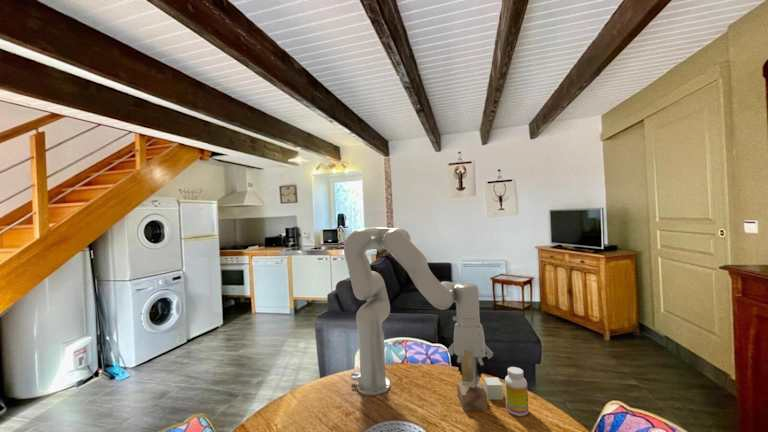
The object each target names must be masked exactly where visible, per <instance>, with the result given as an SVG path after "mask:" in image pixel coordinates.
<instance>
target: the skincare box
mask: <svg viewBox="0 0 768 432" xmlns="http://www.w3.org/2000/svg"><path fill="white" fill-rule="evenodd" d="M478 362H479V360H478V358H476V357H474V352H473V350H464V356H461V368H462V375H461V382H462V384H463V385H466V386H469V387H473V388H475V387H476V385H477V384H478V382H480V380H481V377H479V370H478Z"/></svg>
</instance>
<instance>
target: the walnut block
mask: <svg viewBox="0 0 768 432" xmlns="http://www.w3.org/2000/svg"><path fill="white" fill-rule="evenodd" d="M456 384H457V385H456V386H457V389H456V390H457V397H458V400H459V403H460V406H461V408H462V411H465V410H466V411H467V410H468V411H469V410H470V411H472V410H488V409H489V408H488V407H489V406H488V398H487V394H486V392H485V390H484V385H482V383H481V381H479V382H478V384H477V385H476V387H475V388H473V387H469V386H466V385H463V384H462V381H457V383H456Z"/></svg>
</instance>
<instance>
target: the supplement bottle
mask: <svg viewBox="0 0 768 432" xmlns="http://www.w3.org/2000/svg"><path fill="white" fill-rule="evenodd" d="M504 388H505V390H504V391H505V393H504V394H505V408H506V410H507V411H508V413H510V414H512V415H514V416H517V417H522V416H523V417H524V416H526V415H528V413H529V397H528V396H529V394H528V393H529V391H528V382H527V379H526V378H525V377H524V370H523V369H521V368H520V367H518V366H517V367H516V366H509V367H508V368H507V375H506V376H505V378H504Z"/></svg>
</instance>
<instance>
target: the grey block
mask: <svg viewBox="0 0 768 432" xmlns="http://www.w3.org/2000/svg"><path fill="white" fill-rule="evenodd" d="M503 385H504V384H503V383H502V382H501V380H500V378H499V377H498V376H497V377H494V376H493V377H483V388H484V390H485V392H486V394H487V401H488V400H492V401H493V400H504V389H503Z"/></svg>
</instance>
